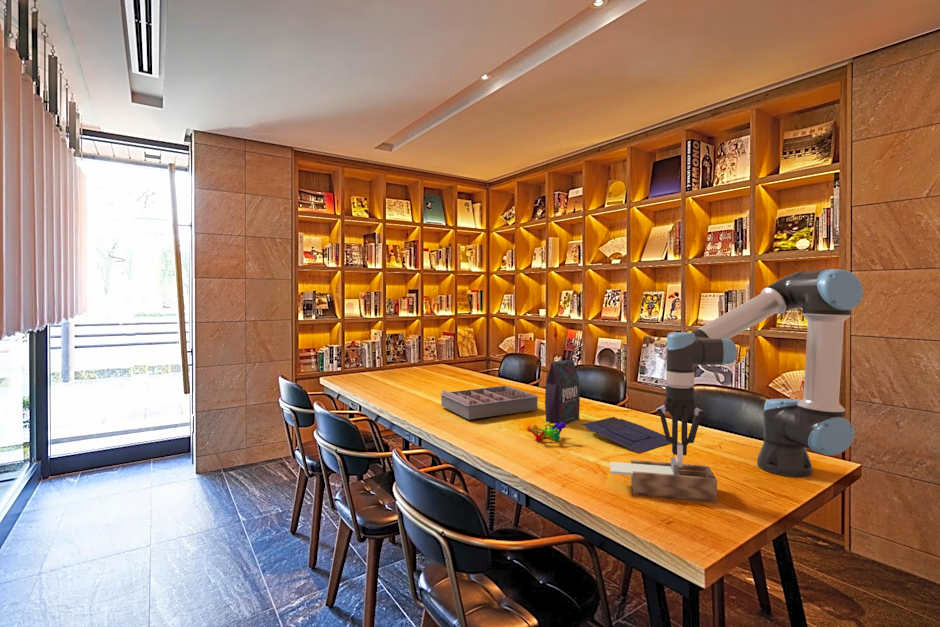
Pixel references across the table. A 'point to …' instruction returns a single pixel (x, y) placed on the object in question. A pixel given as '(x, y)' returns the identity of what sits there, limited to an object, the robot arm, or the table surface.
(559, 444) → the table surface
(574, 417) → the black coffee bag
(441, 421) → the table surface
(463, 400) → the organizer tray
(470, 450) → the table surface
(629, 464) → the lid
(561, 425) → the decorative model
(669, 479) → the box
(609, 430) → the dark blue flat slab
